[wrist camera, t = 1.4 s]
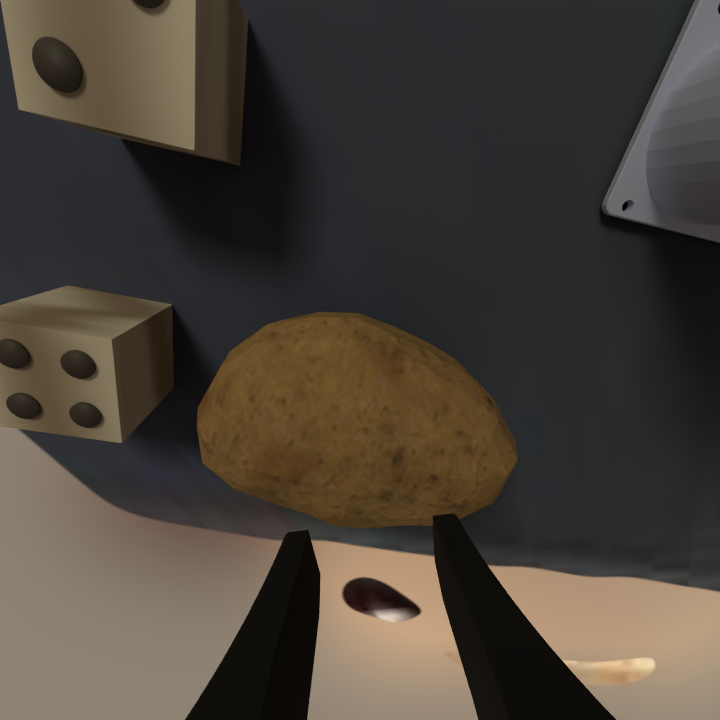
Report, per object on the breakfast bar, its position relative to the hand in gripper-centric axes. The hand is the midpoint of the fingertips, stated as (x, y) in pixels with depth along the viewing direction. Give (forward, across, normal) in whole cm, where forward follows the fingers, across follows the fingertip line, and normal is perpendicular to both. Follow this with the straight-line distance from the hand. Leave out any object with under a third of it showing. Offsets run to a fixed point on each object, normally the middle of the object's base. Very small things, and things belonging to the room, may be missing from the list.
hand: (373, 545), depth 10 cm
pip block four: (+10, +12, -4) cm, 17 cm away
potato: (+11, 0, 0) cm, 11 cm away
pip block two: (+10, +6, -15) cm, 19 cm away
